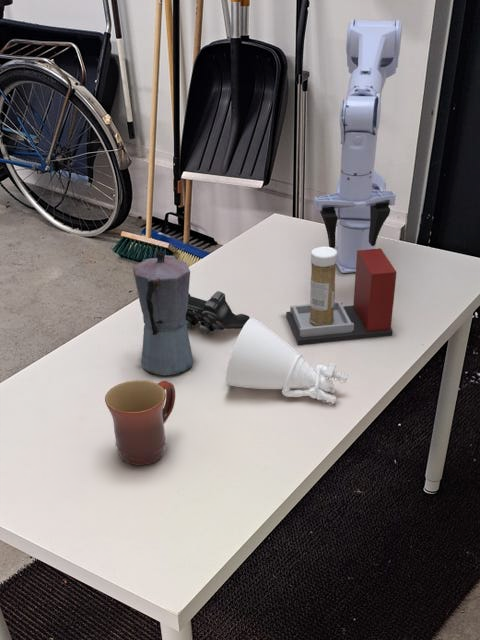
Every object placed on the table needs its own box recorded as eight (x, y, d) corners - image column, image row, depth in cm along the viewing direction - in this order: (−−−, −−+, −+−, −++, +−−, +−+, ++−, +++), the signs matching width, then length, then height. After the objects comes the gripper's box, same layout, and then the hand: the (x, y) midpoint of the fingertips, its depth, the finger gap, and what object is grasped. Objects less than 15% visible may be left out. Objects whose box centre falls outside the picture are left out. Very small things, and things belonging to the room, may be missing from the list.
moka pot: (201, 344, 154) (194, 235, 141) (189, 390, 142) (180, 277, 129) (149, 342, 155) (137, 234, 141) (133, 388, 143) (118, 275, 130)
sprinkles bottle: (338, 321, 156) (343, 250, 148) (322, 330, 154) (325, 258, 145) (320, 313, 159) (323, 243, 150) (303, 321, 157) (305, 251, 148)
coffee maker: (286, 316, 161) (286, 255, 153) (375, 307, 163) (381, 246, 155) (297, 345, 153) (299, 282, 145) (392, 335, 154) (398, 272, 146)
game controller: (167, 329, 164) (147, 296, 155) (185, 302, 165) (166, 267, 156) (237, 352, 156) (220, 319, 148) (255, 323, 158) (239, 288, 149)
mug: (142, 478, 125) (135, 420, 118) (101, 456, 129) (92, 399, 122) (197, 440, 132) (193, 383, 125) (156, 421, 136) (150, 364, 129)
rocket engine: (356, 346, 133) (250, 307, 135) (328, 414, 132) (222, 373, 134) (354, 368, 144) (256, 331, 146) (328, 431, 143) (230, 393, 146)
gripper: (321, 181, 147) (318, 257, 155) (403, 174, 148) (395, 250, 157) (312, 167, 152) (310, 242, 161) (391, 161, 153) (385, 236, 162)
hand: (351, 245), depth 159 cm, fingers open, 7 cm apart
